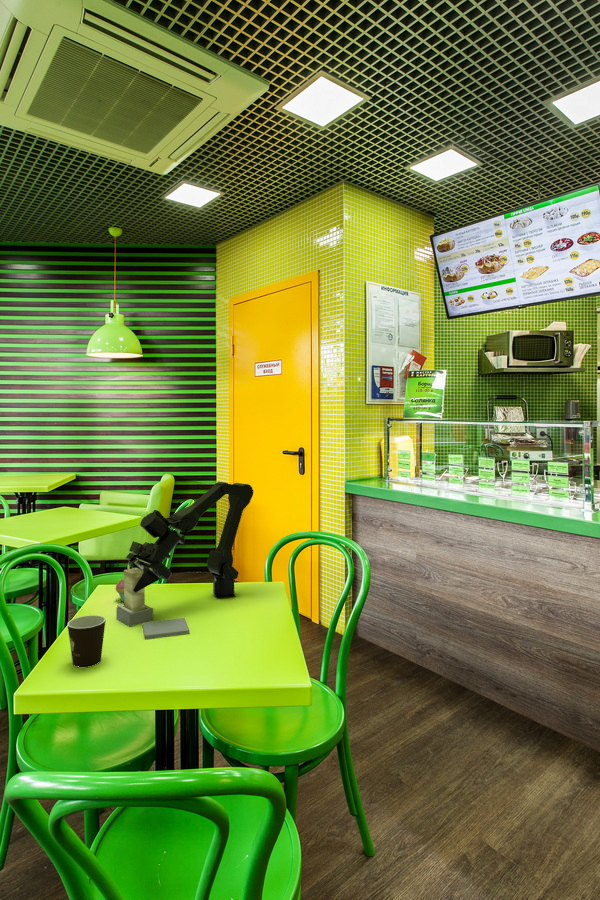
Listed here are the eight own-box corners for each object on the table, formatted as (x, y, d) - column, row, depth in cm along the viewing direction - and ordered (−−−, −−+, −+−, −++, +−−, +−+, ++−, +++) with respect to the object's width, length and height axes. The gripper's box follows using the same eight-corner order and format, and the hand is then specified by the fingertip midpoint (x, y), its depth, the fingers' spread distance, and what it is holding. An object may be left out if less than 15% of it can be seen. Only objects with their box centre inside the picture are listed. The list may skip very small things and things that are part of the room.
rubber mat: (184, 621, 154) (184, 617, 154) (189, 633, 145) (189, 630, 145) (142, 625, 150) (142, 622, 150) (144, 639, 141) (144, 635, 141)
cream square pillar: (136, 606, 158) (136, 567, 158) (144, 610, 155) (144, 571, 154) (124, 609, 155) (123, 570, 155) (132, 614, 152) (131, 573, 151)
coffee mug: (104, 667, 124) (104, 626, 124) (65, 671, 122) (64, 630, 121) (107, 647, 135) (107, 609, 135) (72, 651, 133) (71, 612, 133)
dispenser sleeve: (139, 612, 161) (139, 599, 161) (152, 620, 155) (152, 605, 155) (116, 618, 156) (116, 604, 155) (129, 626, 150) (129, 611, 149)
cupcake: (114, 597, 175) (114, 562, 174) (140, 594, 178) (140, 560, 178) (117, 605, 167) (116, 568, 167) (144, 602, 171) (144, 566, 170)
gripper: (131, 526, 163) (97, 567, 156) (162, 535, 150) (126, 581, 143) (154, 547, 169) (122, 588, 162) (185, 558, 156) (152, 602, 149)
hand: (129, 589), depth 154 cm, fingers closed on cream square pillar, 5 cm apart
